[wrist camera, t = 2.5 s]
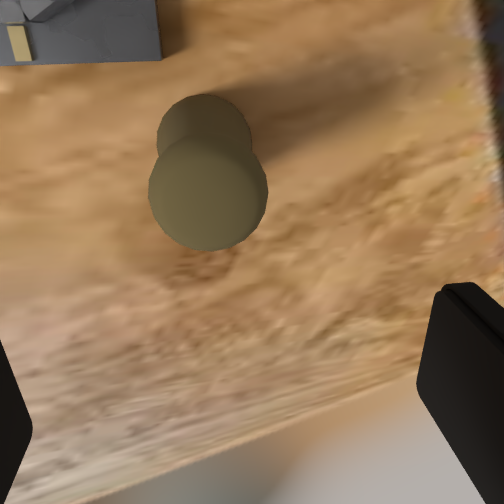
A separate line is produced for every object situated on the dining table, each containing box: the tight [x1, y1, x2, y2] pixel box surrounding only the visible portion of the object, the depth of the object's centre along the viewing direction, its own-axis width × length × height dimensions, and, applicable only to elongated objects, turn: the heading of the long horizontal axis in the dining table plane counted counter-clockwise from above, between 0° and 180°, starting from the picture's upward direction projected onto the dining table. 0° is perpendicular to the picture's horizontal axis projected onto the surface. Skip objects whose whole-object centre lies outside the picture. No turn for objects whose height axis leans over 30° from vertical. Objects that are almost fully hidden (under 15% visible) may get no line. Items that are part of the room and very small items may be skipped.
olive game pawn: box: [148, 94, 268, 251], centre depth 21 cm, size 6×6×11 cm
